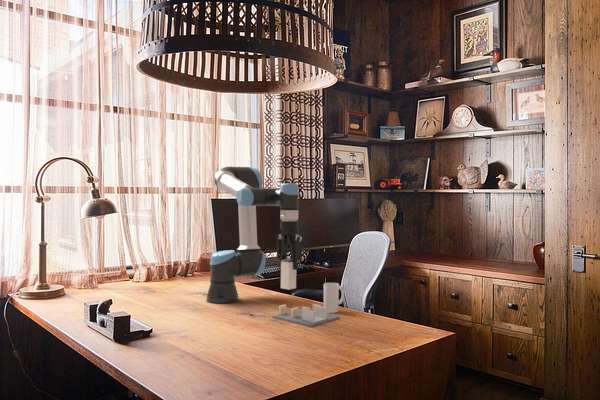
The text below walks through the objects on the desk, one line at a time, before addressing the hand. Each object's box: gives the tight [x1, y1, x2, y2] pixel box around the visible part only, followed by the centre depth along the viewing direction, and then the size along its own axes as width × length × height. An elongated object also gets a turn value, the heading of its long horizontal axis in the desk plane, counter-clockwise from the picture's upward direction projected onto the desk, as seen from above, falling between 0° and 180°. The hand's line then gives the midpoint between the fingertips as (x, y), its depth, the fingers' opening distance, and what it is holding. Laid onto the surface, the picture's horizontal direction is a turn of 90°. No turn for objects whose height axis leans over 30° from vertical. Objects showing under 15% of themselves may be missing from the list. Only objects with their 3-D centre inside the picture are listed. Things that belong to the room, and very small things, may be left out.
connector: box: [280, 258, 297, 291], centre depth 205 cm, size 4×4×12 cm
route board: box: [271, 303, 340, 328], centre depth 204 cm, size 21×18×5 cm
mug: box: [323, 282, 345, 314], centre depth 217 cm, size 10×7×12 cm, turn 116°
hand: (288, 276), depth 205 cm, fingers closed on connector, 4 cm apart
